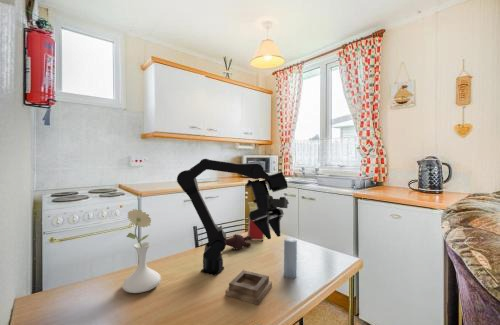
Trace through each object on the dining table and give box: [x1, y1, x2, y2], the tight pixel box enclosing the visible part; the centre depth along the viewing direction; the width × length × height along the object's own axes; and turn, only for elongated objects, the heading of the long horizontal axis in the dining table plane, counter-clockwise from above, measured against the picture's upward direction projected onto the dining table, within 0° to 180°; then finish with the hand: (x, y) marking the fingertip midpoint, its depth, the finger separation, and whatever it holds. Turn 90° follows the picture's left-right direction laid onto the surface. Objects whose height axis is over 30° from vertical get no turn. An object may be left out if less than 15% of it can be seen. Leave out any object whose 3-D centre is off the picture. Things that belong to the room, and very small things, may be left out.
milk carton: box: [246, 201, 266, 241], centre depth 124 cm, size 9×9×20 cm
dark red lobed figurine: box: [226, 233, 253, 251], centre depth 109 cm, size 7×7×15 cm
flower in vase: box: [121, 208, 162, 294], centre depth 77 cm, size 13×11×25 cm
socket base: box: [224, 269, 273, 306], centre depth 75 cm, size 11×11×4 cm
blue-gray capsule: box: [283, 238, 298, 279], centre depth 85 cm, size 4×4×12 cm
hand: (274, 237), depth 83 cm, fingers open, 9 cm apart
